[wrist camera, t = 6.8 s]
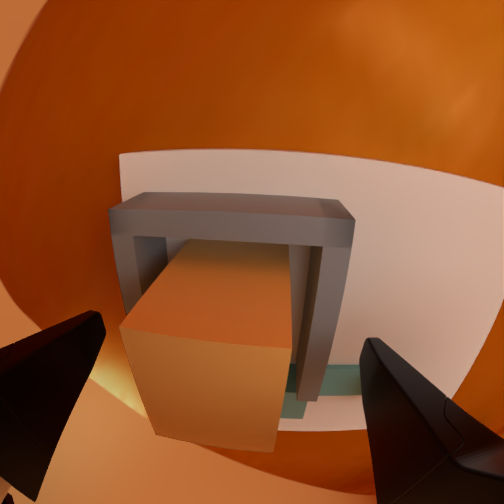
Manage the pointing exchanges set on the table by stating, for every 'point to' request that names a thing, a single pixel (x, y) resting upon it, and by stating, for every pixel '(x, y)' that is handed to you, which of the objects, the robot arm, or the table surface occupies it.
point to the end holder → (246, 230)
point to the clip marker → (327, 386)
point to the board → (368, 254)
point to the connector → (215, 344)
